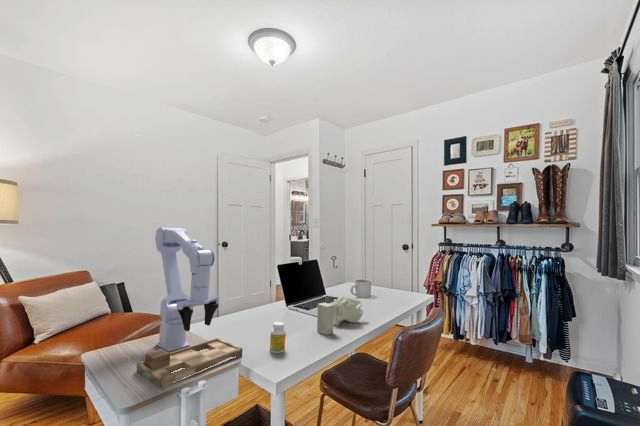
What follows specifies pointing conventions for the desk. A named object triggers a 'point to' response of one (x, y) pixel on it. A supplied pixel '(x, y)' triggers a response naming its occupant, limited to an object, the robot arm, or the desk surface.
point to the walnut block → (157, 359)
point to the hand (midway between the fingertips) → (197, 327)
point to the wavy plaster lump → (346, 310)
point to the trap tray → (190, 361)
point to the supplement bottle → (277, 338)
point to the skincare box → (325, 318)
